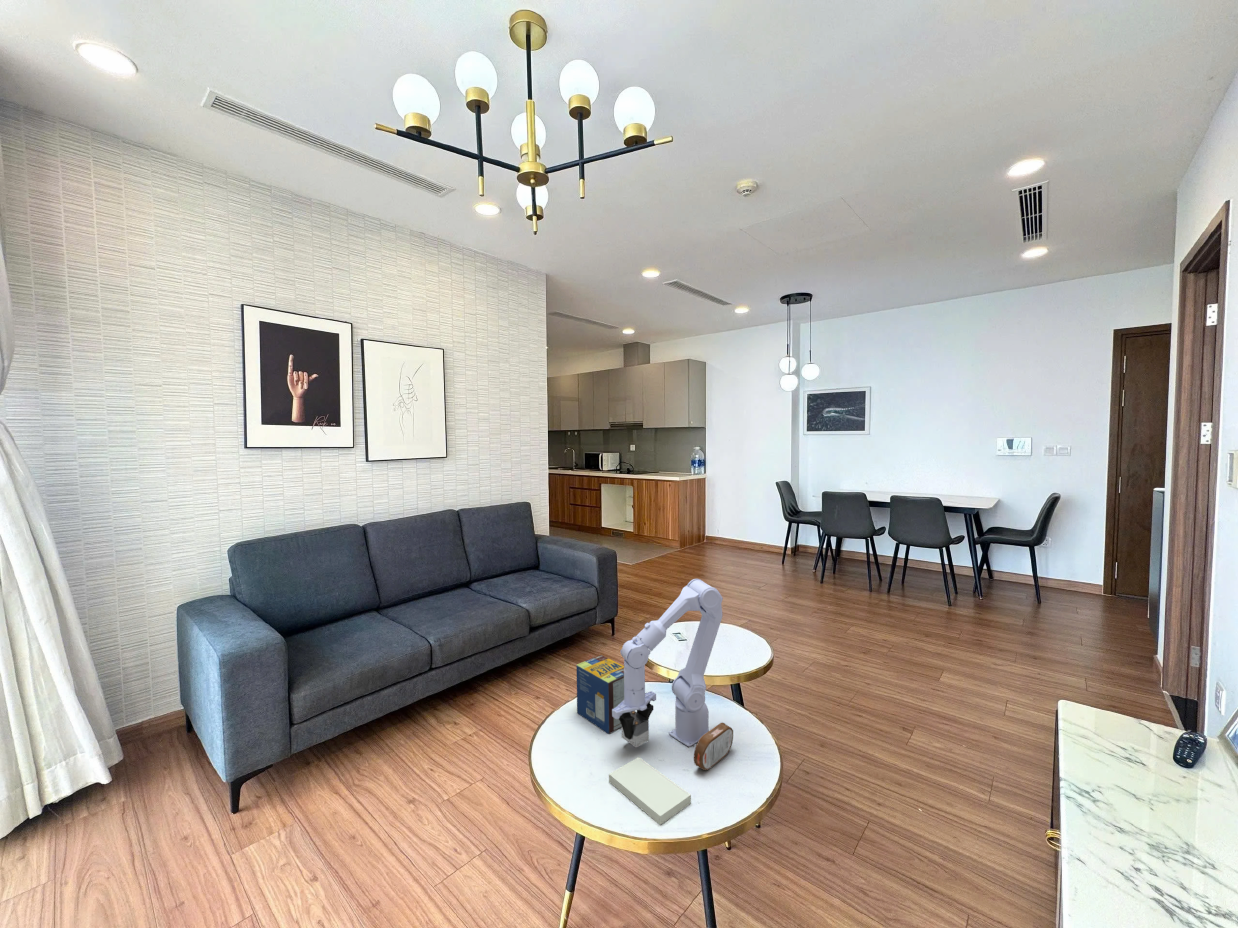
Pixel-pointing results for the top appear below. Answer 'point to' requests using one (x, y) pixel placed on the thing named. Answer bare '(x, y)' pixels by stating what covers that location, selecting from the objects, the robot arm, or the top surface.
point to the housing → (638, 730)
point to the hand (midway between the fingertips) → (635, 733)
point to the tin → (713, 746)
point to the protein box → (600, 691)
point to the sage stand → (650, 790)
